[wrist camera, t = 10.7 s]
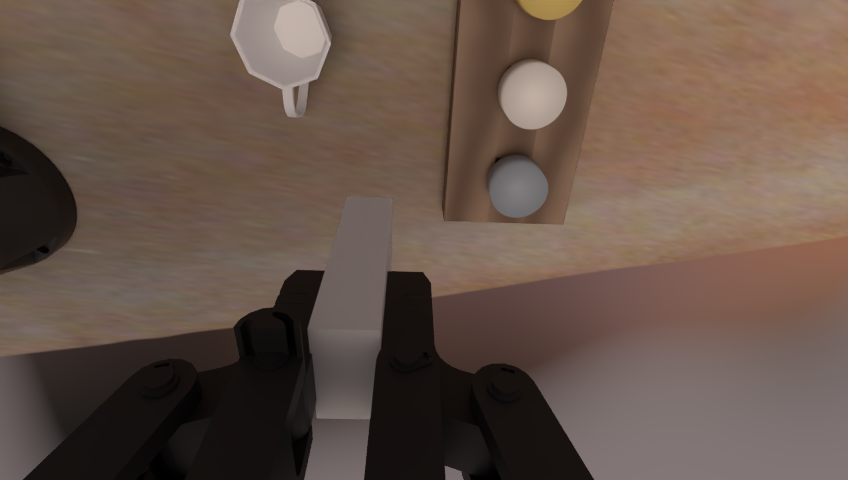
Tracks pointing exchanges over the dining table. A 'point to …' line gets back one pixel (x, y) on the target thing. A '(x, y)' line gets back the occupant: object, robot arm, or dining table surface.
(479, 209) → the panel
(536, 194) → the slate button
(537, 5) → the mustard button
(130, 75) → the dining table surface
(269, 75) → the cup
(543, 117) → the cream button
